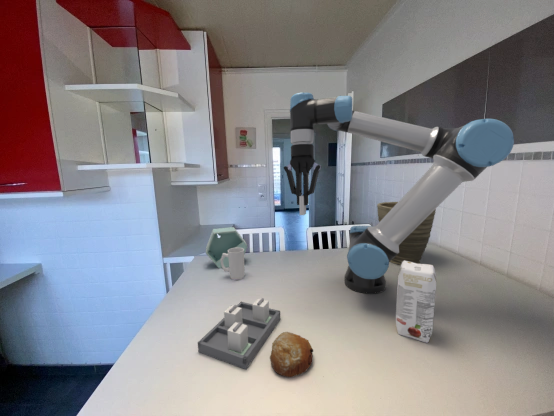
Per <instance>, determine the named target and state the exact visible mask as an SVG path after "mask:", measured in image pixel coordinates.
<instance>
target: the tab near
mask: <svg viewBox="0 0 554 416" xmlns="http://www.w3.org/2000/svg"><path fill="white" fill-rule="evenodd" d="M227 332H228V347H229V349H231V350H234V351H237V352H240V353H241V352H242V351H243V350H244V348H245V347H246V346H247V344H248V328H247V325H244V324H242V322H239V323H237V322H235V323H234V324H233V325H232V326H231V327H230V328H229V329H228V330H227Z"/></svg>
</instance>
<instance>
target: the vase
mask: <svg viewBox="0 0 554 416" xmlns="http://www.w3.org/2000/svg"><path fill="white" fill-rule="evenodd" d="M398 202H399V201H385V202H378V203H377V206H376V207H377V217H378V218H377V219H378V223H379V222H380V221H381V220H382V219H383V218H384V217H385V216H386V215H387V214H388V212H389V211H390V210H391V209H392V208H393V207H394V206H395V205H396V204H397V203H398ZM436 209H437V208H436ZM436 209H435V210H434V211H433V212H432V213H431V214H430V215H429V216H428V217H427V218H426V219H425V220H424V221H423V222H422V223H421V224H420V225H419V226H418V227H417V228H416V229H415V230H414V231H413V232H412V233H411V234H410V235H409V236H408V237H407V238H406V239H404V240H403V241H402V242H401V243H400V244H399V253H398V254H397V255H396V256H395V257H394V258H393V259H392V260H391V261H390V262H389V263H393V264H395V265H399V266H401V264H402V262H403V261H404V260H405V261H409V262H413V263H417V264H421V260H422V257H423V254H424V252H425V251H426V249H427V245H428V243H429V241H430V237H431V232H432V228H433V223H434V221H435V216H436V212H437V211H436Z"/></svg>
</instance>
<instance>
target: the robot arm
mask: <svg viewBox="0 0 554 416" xmlns="http://www.w3.org/2000/svg"><path fill="white" fill-rule="evenodd" d="M289 102H290V104H289V105H290V106H289V114H290V115H289V118H290V144H291V146H290V161H289V163H288V164H287V165H286V166H283V170H284V171H285V173H286V177H287V181H288V185H289V189H290V193H291V194H292V195H295V196H296V205H297V206H298V207H299V216H305V215H306V214H307V206H309V204H310V202H309V196H310V195H312V194H314V193H315V189H316V186H317V181H318V176H319V173H320V172H321V170H322V165H321V164H319V163H317V162H316V160H315V157H314V154H315V153H314V148H315V147H314V145H313V143H314V139H315V136H314V135H315V134H314V132H315V131H314V127H315V125H317V126H318V125H327V126H328V128H329V129H330V130H332V131H335V132H343V133H348V134H352V135H355V136H358V137H363V138H367V139H370V140H374V141H379V142H382V143H385V144H389V145H393V146H396V147H400V148H405V149H408V150H411V151H412V150H413V151H415V152H420V154H421V156H423V157H425V158H430V159H432V160H433V164H432V165H431V166H430V167H429V168H428V169H427V170H426V172H425V173H424V174H423V175H422V176H421V177H420V178H419V179H418V180H417V181H416V182H415V184H413V186H412V187H411V188H410V189H409V190H408V191H407V192H406V193H405V194H404V195H403V196H402V197H401V199H400V200H398V201H397V202H398V203H397V204H396V205H395V206H394V207H393V208H392V209H391V210H390V211H389V212H388V214H387V215H386V216H385V217H384V218H383V219H382V220H381V221H380V222H379V221H378V223H377V224H376V225H375V226H374V225H353V226H351V227H350V229H349V245H348V252H347V255H346V258H347V263H348V266H347V269H346V271H345V274H344V278H343V279H344V280H343V281H344V284H345V286H346V287H347V288H349V289H350V290H352V291H354V292H359V293H360V294H361V293H362V294H370V295H371V294H380V293H382V292H384V291H385V290H386V288H387V280H386V276H385V274H386V273H387V272H388V268H389V267H390V263H391V262H390V261H391V260H392V259H393V258H394V257H395V256H396V255H397V254H398V253H399V244H400V243H401V242H402V241H403V240H404V239H406V238H407V237H408V236H409V235H410V234H411V233H412V232H413V231H414V230H415V229H416V228H417V227H418V226H419V225H420V224H421V223H422V222H423V221H424V220H425V219H426V218H427V217H428V216H429V215H430V214H431V213H432V212H433V211H434V210H435V209H437V208H438V207H439V206H440V205H441V204H442V203H443V202H444V201H445V200H446V199H447V198H448V197H449V196H450V195H451V194H452V193H453V192H455V191H456V189H457V188H459V187H460V185H462V184H463V183H465V182H473V181H474V180H475V179H476V178H478V177H479V176H480V175H481V174H482V172H484V171H485V170H486V169H487V168H489V167H492V166H494V165H497V164H498V163H501V162H502V161H504V160H505V159H506V158H507V157H508V156H509V155H510V153H512V150H513V148H514V144H515V139H514V133H513V131H512V129H511V127H510V126H509V125H508V124H506V123H505V122H504V121H501V120H498V119H496V118H495V119H494V118H482V119H475V120H472V121H469V122H467V123H466V124H465V125H462V126H460V127H455V128H446V127H442V126H441V127H440V126H435V127H433V128H429V127H425V126H421V125H416V124H412V123H408V122H404V121H400V120H397V119H396V120H395V119H391V118H387V117H383V116H378V115H374V114H371V113H366V112H361V111H357V110H354V109H353V97H352V96H351V95H338V96H333V97H332V96H331V97H325V98H317V99H316V98H314V95H313V93H311V92H306V91H305V92H297V93H294V94H293V95H292V96H291V97H290V101H289ZM312 168H313V172H312V177H311V181H310V171H312ZM292 170H294V173H295V179H294V174H293V171H292ZM302 176H303V178H302ZM302 180H303V181H302ZM302 182H303V183H302ZM302 191H303V192H302Z"/></svg>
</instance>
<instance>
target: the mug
mask: <svg viewBox="0 0 554 416" xmlns="http://www.w3.org/2000/svg"><path fill="white" fill-rule="evenodd" d="M225 257H228V259H229V267H225V266H224V264H223V259H224V258H225ZM221 266H222V268H221V269H222V270H223V272H225V273H227V272H228V273H229V278H230V279H231V280H234V281H237V280H243V279H245V276H246V275H245V274H246V273H245V254H244V249H243V248H231V249H229V250H228V254H226V253H223V255H222V257H221Z"/></svg>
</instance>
